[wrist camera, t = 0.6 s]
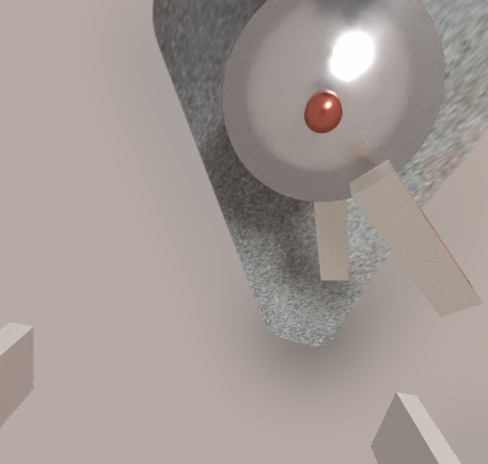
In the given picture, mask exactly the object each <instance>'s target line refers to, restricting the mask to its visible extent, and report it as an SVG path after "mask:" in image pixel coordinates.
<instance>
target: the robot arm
mask: <svg viewBox="0 0 488 464" xmlns="http://www.w3.org/2000/svg"><path fill="white" fill-rule="evenodd" d="M32 390H33V326H28V325H23V324H17V323H12V322H11V323H9V324H8V325H7V326H5V327H4V328H3V329H1V330H0V428H1V426H2V425H3V424H4V423H5V422H6V421H7V419H8V418H9V417H10V416H11V414H12V413H13V412H14V411H15V410H16V409H17V407H18V406H19V405H20V404H21V403H22V401H24V399H25V398H26V397H27V396H28V395H29V393H30V392H31V391H32ZM371 447H372V450H373V452H374V454H375V457H376V459H377V462H378V464H461V463H460V461H459V460H458V458H457V457H456V456H455V454H454V452H453V451H452V449H451V448H450V446H449V445H448V443H447V442H446V440H445V439H444V437H443V436H442V434H441V433H440V431H439V430H438V428H437V427H436V425H435V424H434V422H433V421H432V419H431V418H430V416H429V415H428V413H427V412H426V410H425V409H424V407H423V406H422V404H421V403H420V401H419V400H418V398H417V397H416V396H415V395H409V394H404V393H398V392H396V394H395V396H394V398H393V400H392V402H391V405H390V407H389V409H388V411H387V413H386V415H385V417H384V419H383V421H382V424H381V426H380V428H379V430H378V432H377V434H376V436H375V438H374V440H373V442H372V445H371Z"/></svg>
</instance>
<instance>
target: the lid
mask: <svg viewBox="0 0 488 464" xmlns="http://www.w3.org/2000/svg"><path fill="white" fill-rule="evenodd" d="M444 81H445V63H444V52H443V48H442V44H441V40H440V36H439V34H438V31H437V29H436V26H435V24H434V22H433V20H432V18H431V16H430V15H429V13H428V12H427V10H426V9H425V7H424V6H423V5H422V3H421V2H420V1H419V0H267V1H266V2H265V3H264V4H263V5H262V6H261V7H260V8H259V9H258V10H257V11H256V12H255V14H254V15H253V16H252V18H251V19H250V20H249V21H248V23H247V24H246V25H245V27H244V29H243V30H242V32H241V34H240V35H239V37H238V39H237V41H236V43H235V45H234V47H233V50H232V52H231V54H230V57H229V61H228V64H227V67H226V71H225V77H224V82H223V93H222V104H223V116H224V122H225V126H226V130H227V133H228V137H229V139H230V142H231V144H232V146H233V149H234V150H235V152H236V154H237V156H238V157H239V159H240V160H241V162H242V163H243V164H244V166H245V167H246V168H247V170H248V171H249V172H250V173H251V174H252V175H253V176H254V177H255V178H256V179H258V180H259V181H260V182H261V183H263V184H264V185H266V186H267V187H269V188H270V189H272V190H274V191H276V192H278V193H280V194H282V195H284V196H287V197H290V198H293V199H298V200H303V201H310V202H332V201H339V200H344V199H348V198H353V199H354V201H355V202H356V203H357V205H358V206H359V207H360V209H361V210H362V211H363V213H364V214H365V216H366V217H367V218H368V220H369V221H370V222H371V224H372V225H373V226H374V228H375V229H376V230H377V232H378V233H379V234H380V236H381V237H382V238H383V240H384V241H385V242H386V244H387V245H388V246H389V248H390V249H391V251H392V252H393V253H394V255H395V256H396V257H397V258H398V260H399V261H400V263H401V264H402V265H403V267H404V268H405V269H406V271H407V272H408V273H409V275H410V276H411V277H412V279H413V280H414V281H415V283H416V284H417V285H418V287H419V288H420V290H421V291H422V292H423V293H424V295H425V296H426V298H427V299H428V300H429V301H430V303H431V304H432V306H433V307H434V308H435V310H436V311H437V312H438V314H439V315H440V316H444V315H447V314H451V313H454V312H457V311H460V310H464V309H467V308H470V307H473V306H477V305H480V304H482V302H481V300H480V298H479V297H478V295H477V294H476V292H475V290H474V289H473V287H472V285H471V284H470V282H469V281H468V279H467V278H466V276H465V275H464V273H463V272H462V270H461V269H460V267H459V266H458V264H457V263H456V261H455V260H454V258H453V256H452V255H451V254H450V252H449V251H448V249H447V247H446V246H445V244H444V243H443V241H442V240H441V238H440V237H439V235H438V234H437V232H436V231H435V229H434V228H433V226H432V225H431V223H430V222H429V220H428V219H427V217H426V216H425V214H424V213H423V211H422V210H421V208H420V207H419V205H418V204H417V202H416V201H415V199H414V198H413V196H412V195H411V193H410V192H409V190H408V189H407V187H406V186H405V184H404V183H403V181H402V180H401V178H400V177H399V175H398V174H397V172H399V171H400V170H401V169H402V168H403V167H404V166H405V165H406V164H407V163H408V162H409V161H410V160H411V159H412V157H413V156H414V155H415V154H416V152H417V151H418V150H419V149H420V147H421V146H422V144H423V143H424V141H425V139H426V138H427V136H428V134H429V133H430V131H431V128H432V126H433V124H434V122H435V120H436V117H437V114H438V111H439V108H440V105H441V101H442V96H443V90H444Z"/></svg>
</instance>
